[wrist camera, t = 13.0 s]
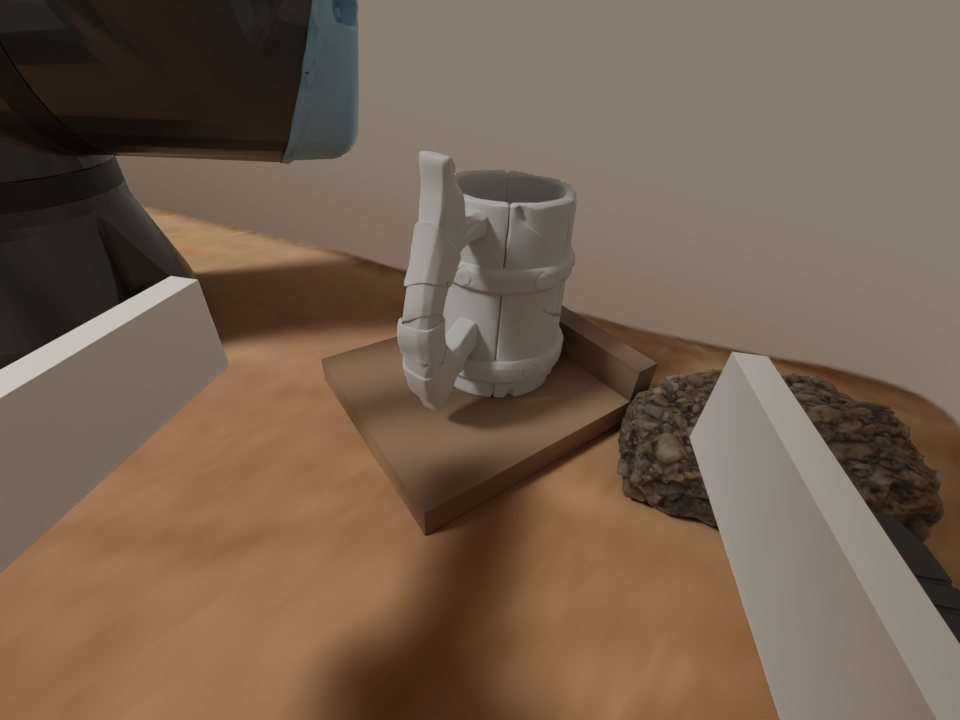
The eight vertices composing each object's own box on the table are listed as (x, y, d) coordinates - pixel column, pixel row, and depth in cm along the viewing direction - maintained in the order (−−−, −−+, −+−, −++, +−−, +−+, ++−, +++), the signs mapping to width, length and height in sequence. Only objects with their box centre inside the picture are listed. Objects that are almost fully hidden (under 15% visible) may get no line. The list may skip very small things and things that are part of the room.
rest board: (325, 379, 25) (315, 329, 23) (509, 319, 32) (514, 277, 30) (425, 535, 17) (423, 481, 15) (639, 412, 24) (657, 363, 22)
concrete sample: (849, 452, 23) (910, 379, 20) (897, 633, 16) (1005, 560, 13) (635, 382, 27) (660, 312, 24) (593, 499, 20) (620, 420, 17)
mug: (574, 348, 27) (623, 134, 20) (487, 480, 18) (517, 183, 11) (469, 314, 29) (478, 116, 22) (349, 414, 21) (303, 143, 14)
